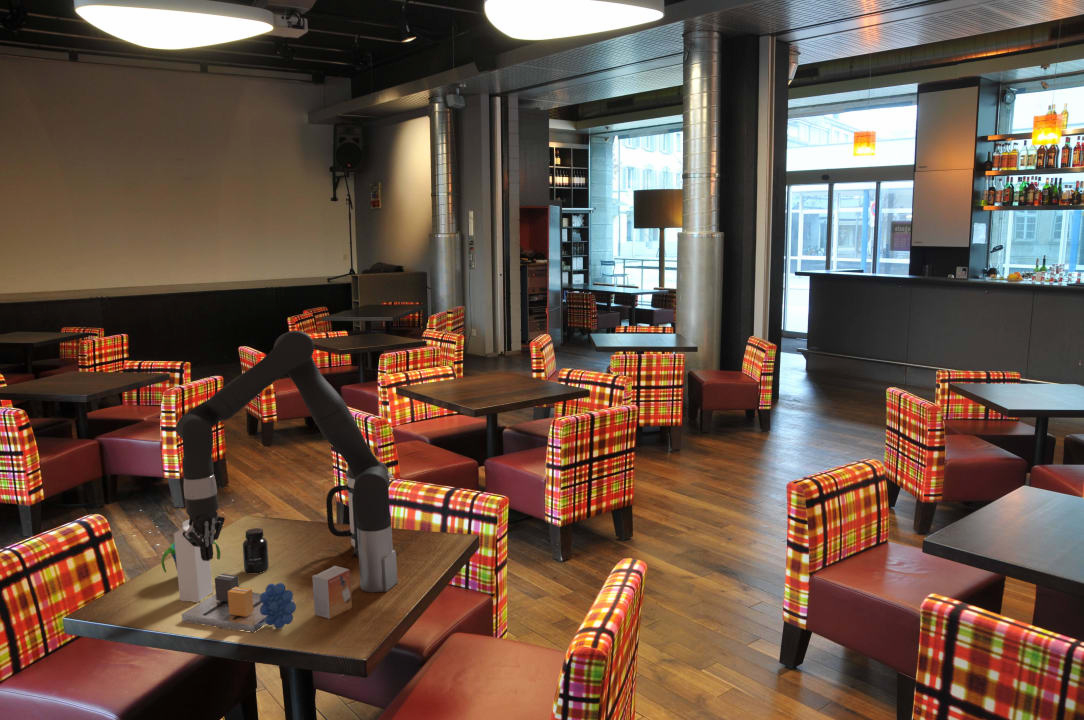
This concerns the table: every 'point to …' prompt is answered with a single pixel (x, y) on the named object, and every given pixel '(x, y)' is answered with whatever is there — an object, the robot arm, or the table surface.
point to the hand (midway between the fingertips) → (207, 559)
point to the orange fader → (240, 601)
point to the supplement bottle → (255, 551)
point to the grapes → (277, 605)
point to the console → (226, 615)
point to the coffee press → (353, 523)
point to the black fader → (225, 585)
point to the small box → (332, 592)
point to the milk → (191, 569)
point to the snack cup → (172, 551)
